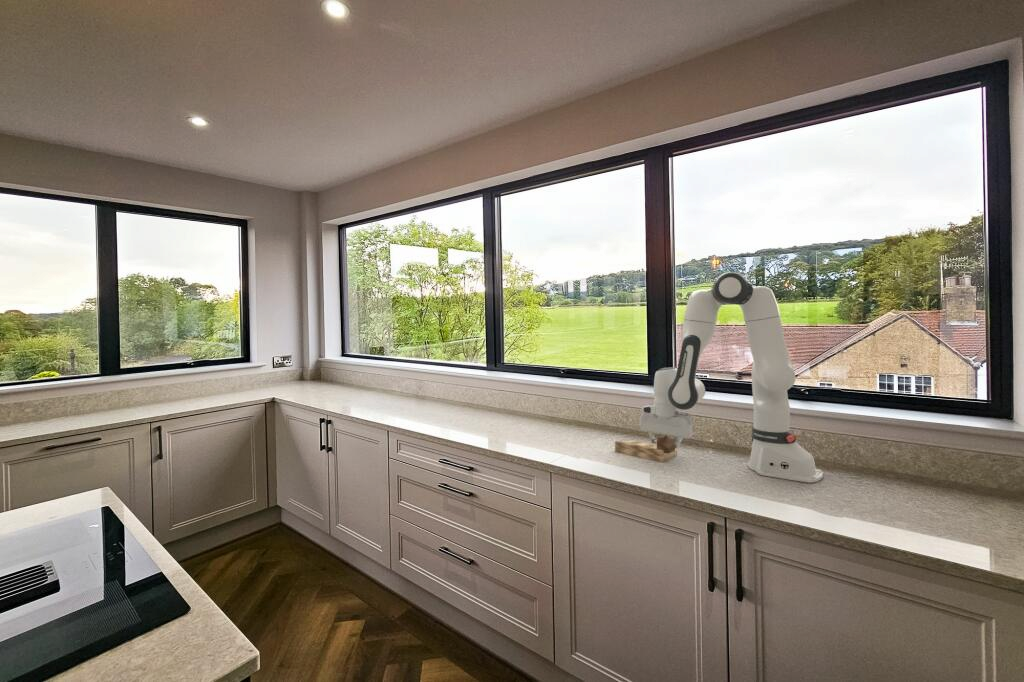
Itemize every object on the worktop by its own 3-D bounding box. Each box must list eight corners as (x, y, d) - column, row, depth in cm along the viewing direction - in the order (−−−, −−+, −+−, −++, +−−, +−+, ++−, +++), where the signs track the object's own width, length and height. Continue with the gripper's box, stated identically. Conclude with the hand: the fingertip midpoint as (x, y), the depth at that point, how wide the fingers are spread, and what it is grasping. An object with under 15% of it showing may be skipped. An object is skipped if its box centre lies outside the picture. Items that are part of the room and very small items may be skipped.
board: (676, 454, 184) (676, 444, 184) (661, 462, 175) (661, 451, 175) (631, 445, 198) (631, 435, 198) (615, 451, 190) (615, 441, 189)
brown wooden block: (675, 450, 183) (675, 435, 182) (668, 453, 179) (668, 438, 179) (663, 448, 186) (663, 433, 186) (656, 450, 183) (656, 435, 182)
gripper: (695, 412, 176) (695, 449, 177) (645, 404, 191) (645, 438, 192) (688, 415, 172) (687, 452, 173) (637, 407, 186) (637, 442, 187)
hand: (665, 445), depth 182 cm, fingers open, 8 cm apart
